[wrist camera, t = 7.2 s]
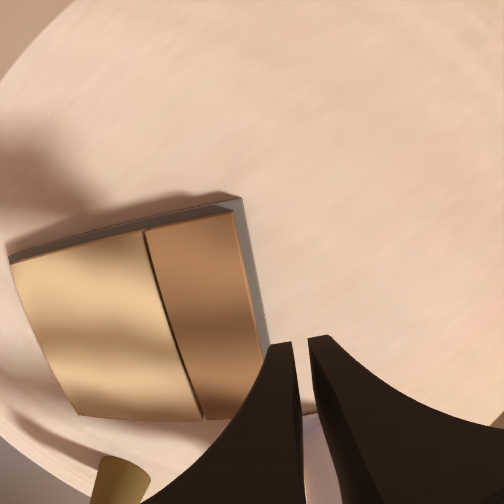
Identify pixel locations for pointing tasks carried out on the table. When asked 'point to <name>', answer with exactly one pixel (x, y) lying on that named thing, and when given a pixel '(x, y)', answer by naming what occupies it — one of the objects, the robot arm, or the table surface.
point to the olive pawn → (119, 482)
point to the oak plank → (107, 330)
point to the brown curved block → (209, 308)
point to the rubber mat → (169, 218)
